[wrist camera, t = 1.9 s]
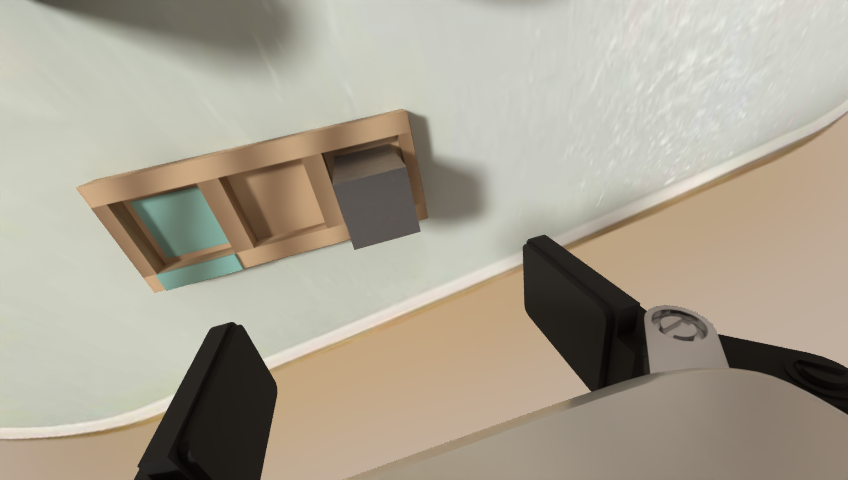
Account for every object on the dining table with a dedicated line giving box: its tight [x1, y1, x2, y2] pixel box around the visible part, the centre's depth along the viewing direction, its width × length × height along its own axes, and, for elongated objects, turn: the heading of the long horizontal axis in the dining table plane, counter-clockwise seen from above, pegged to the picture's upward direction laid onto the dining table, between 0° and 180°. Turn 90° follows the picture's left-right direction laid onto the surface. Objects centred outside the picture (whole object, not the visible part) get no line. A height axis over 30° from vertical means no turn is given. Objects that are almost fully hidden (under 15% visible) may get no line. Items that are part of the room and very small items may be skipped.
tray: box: [76, 109, 428, 293], centre depth 26 cm, size 23×9×2 cm, turn 100°
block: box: [333, 143, 420, 250], centre depth 24 cm, size 4×4×8 cm
